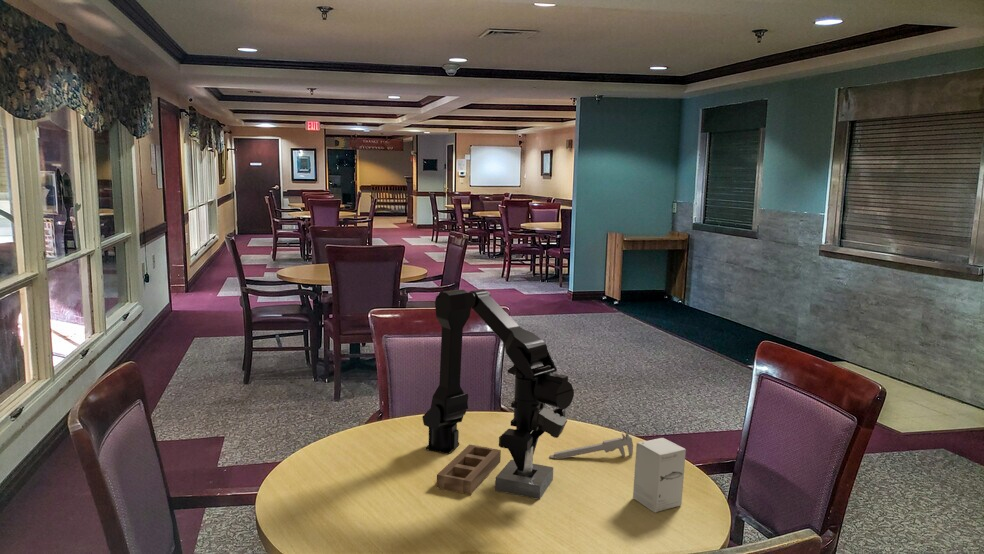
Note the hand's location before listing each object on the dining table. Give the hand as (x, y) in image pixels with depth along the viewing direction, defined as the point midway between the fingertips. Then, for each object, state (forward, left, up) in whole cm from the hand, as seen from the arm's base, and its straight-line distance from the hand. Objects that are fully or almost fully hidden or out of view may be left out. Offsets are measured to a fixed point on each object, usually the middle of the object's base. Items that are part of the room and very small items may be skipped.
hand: (525, 465), depth 149 cm
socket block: (0, 0, -4) cm, 4 cm away
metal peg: (0, 0, -4) cm, 4 cm away
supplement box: (+28, +4, -5) cm, 29 cm away
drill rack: (-13, 0, -4) cm, 14 cm away
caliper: (+10, +21, -5) cm, 24 cm away
